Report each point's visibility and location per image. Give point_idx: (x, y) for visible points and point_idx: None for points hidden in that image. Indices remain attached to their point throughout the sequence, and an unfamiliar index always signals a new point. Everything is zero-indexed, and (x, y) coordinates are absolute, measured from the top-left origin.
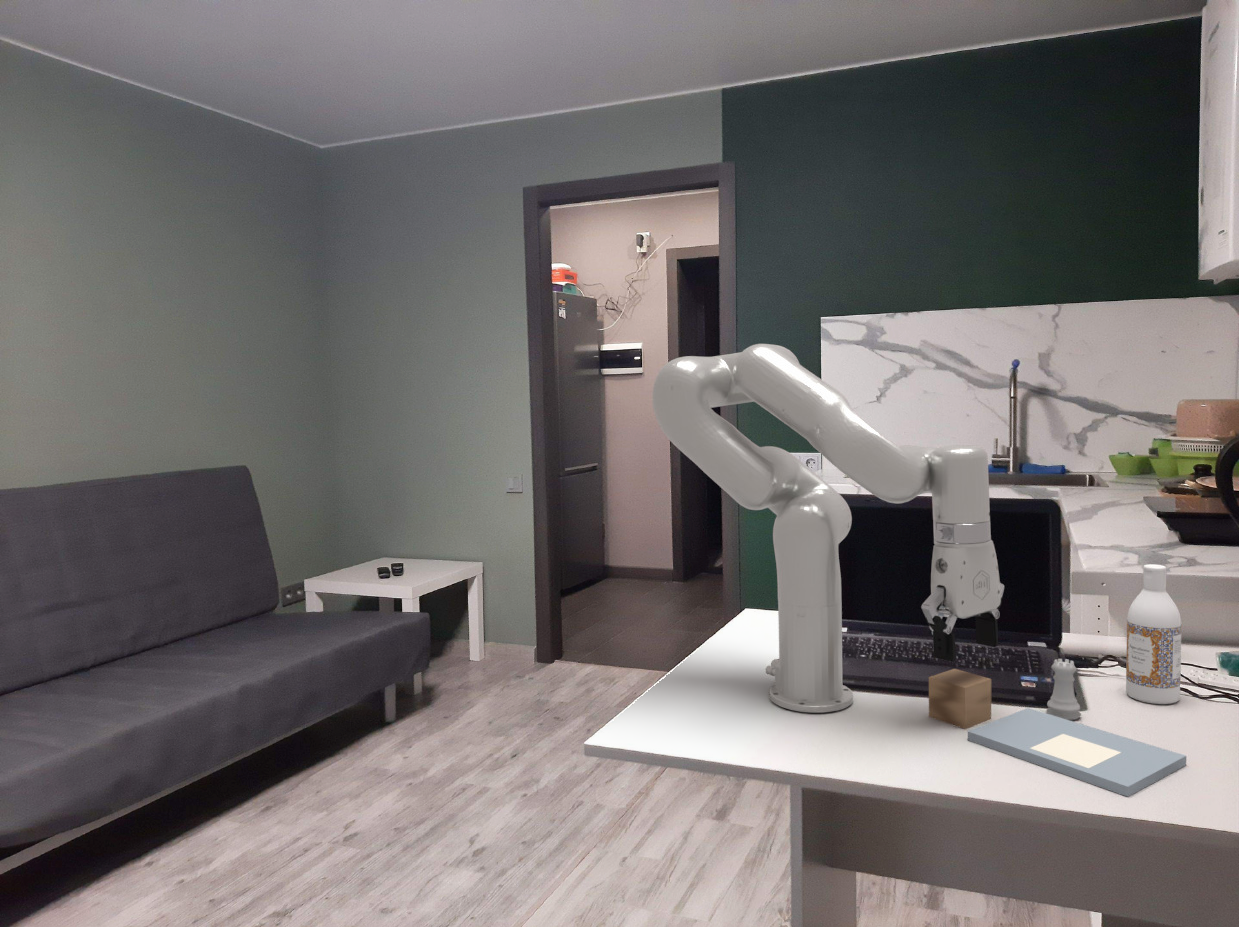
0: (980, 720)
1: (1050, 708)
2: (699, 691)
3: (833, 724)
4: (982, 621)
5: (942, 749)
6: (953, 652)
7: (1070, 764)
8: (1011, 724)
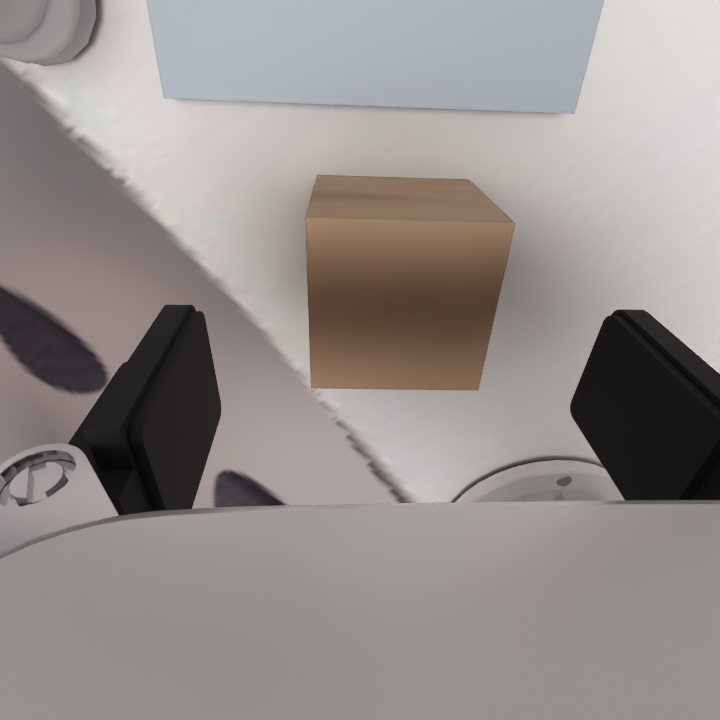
0: (382, 178)
1: (79, 13)
2: None
3: None
4: (172, 491)
5: (694, 119)
6: (668, 336)
7: None
8: (389, 26)
